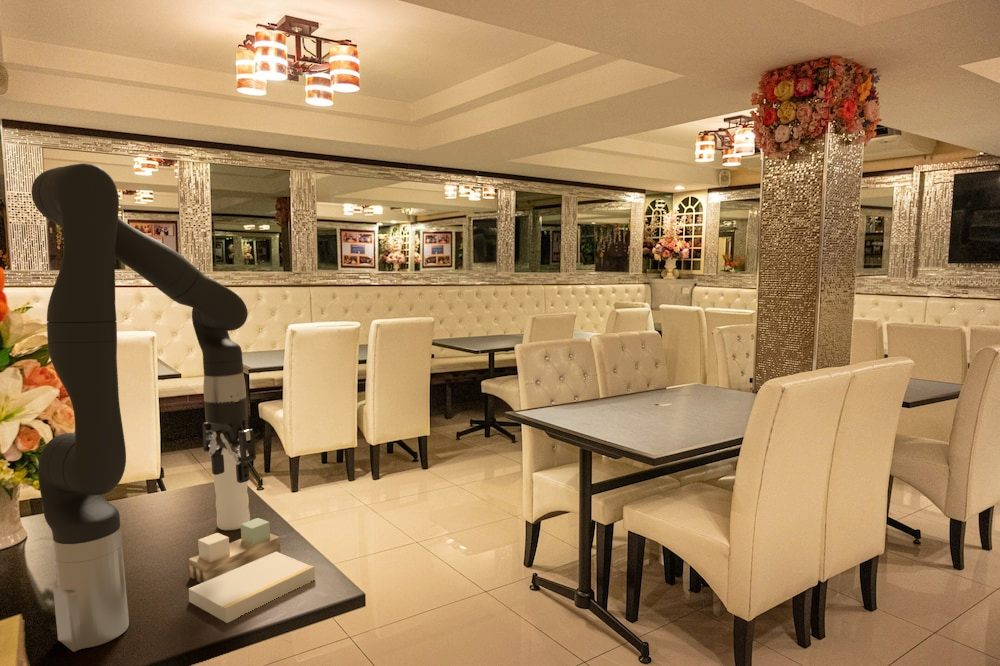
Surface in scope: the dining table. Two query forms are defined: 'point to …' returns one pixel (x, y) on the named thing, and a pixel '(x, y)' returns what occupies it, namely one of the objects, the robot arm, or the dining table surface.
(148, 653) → the dining table surface
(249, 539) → the block
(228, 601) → the dock
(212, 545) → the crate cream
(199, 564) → the pallet
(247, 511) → the water bottle
